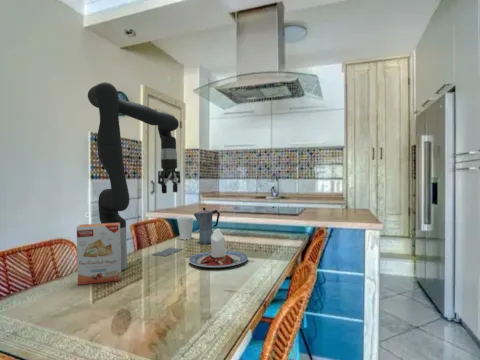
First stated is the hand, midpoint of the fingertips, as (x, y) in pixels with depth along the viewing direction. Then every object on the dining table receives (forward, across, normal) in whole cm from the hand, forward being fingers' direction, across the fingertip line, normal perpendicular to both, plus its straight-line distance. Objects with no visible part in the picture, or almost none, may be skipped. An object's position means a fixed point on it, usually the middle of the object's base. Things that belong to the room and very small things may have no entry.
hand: (169, 192), depth 145 cm
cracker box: (+30, -38, +4) cm, 49 cm away
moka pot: (+30, +31, -2) cm, 43 cm away
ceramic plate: (+31, -2, -26) cm, 40 cm away
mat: (+30, +5, +6) cm, 31 cm away
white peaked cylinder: (+28, -2, -26) cm, 38 cm away
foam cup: (+30, +35, +15) cm, 49 cm away
